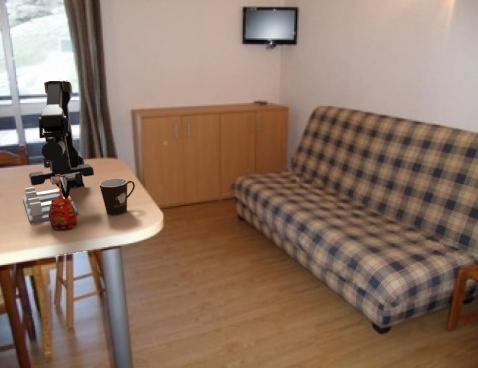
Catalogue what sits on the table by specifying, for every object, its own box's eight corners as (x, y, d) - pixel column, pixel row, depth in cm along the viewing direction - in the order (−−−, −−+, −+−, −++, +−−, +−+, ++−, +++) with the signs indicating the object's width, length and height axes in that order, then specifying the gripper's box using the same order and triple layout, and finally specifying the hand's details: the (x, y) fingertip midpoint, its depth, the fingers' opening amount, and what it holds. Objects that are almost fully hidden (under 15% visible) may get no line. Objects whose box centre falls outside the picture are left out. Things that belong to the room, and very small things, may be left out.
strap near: (70, 199, 135) (69, 196, 135) (72, 202, 132) (71, 199, 132) (35, 206, 130) (34, 203, 130) (36, 209, 127) (35, 206, 127)
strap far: (64, 190, 145) (63, 187, 145) (65, 192, 142) (65, 189, 142) (31, 195, 140) (30, 192, 139) (32, 198, 137) (31, 195, 136)
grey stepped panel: (65, 192, 150) (63, 179, 148) (78, 213, 130) (76, 199, 129) (23, 199, 143) (20, 186, 141) (30, 223, 123) (27, 208, 122)
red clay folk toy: (47, 232, 118) (38, 183, 113) (56, 222, 124) (48, 175, 119) (73, 231, 118) (66, 182, 113) (81, 221, 125) (74, 175, 120)
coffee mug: (105, 218, 126) (101, 188, 123) (100, 209, 133) (97, 180, 130) (142, 211, 131) (139, 182, 128) (135, 203, 138) (133, 175, 135)
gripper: (83, 144, 139) (89, 187, 144) (23, 152, 130) (32, 197, 135) (91, 150, 130) (97, 196, 135) (26, 159, 121) (36, 208, 126)
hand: (66, 199), depth 133 cm, fingers closed, pressing on strap near
